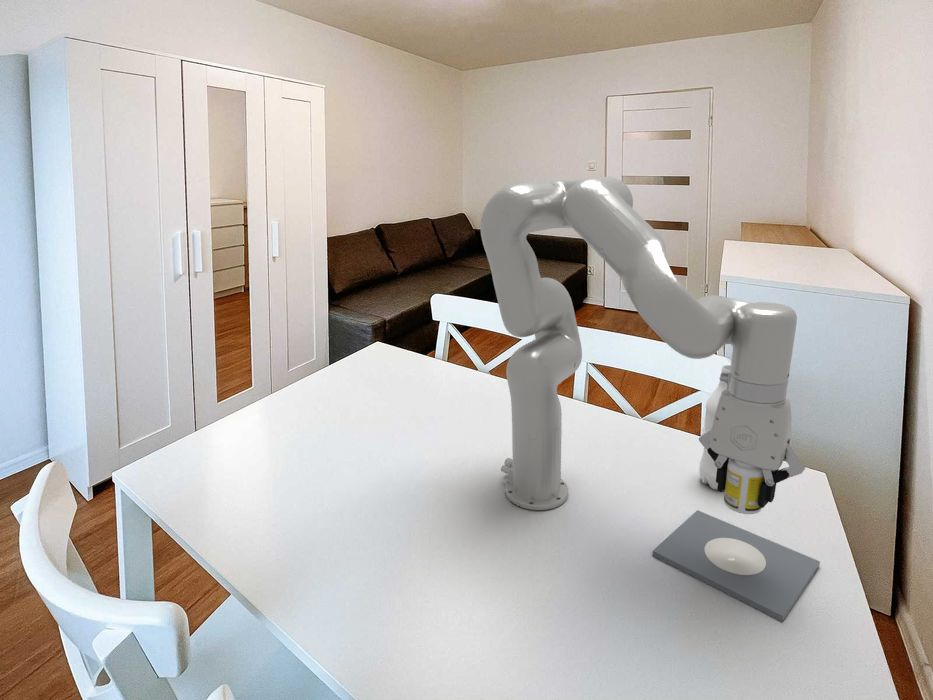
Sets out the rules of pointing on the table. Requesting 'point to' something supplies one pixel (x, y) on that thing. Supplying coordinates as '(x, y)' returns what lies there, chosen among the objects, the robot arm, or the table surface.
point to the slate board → (739, 563)
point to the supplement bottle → (743, 487)
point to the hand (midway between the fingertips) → (743, 494)
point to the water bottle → (707, 463)
